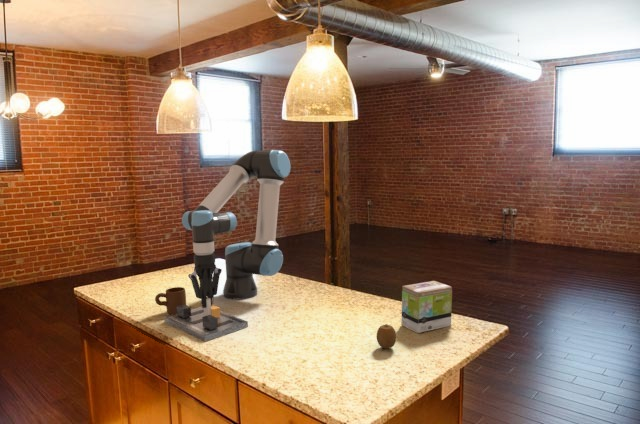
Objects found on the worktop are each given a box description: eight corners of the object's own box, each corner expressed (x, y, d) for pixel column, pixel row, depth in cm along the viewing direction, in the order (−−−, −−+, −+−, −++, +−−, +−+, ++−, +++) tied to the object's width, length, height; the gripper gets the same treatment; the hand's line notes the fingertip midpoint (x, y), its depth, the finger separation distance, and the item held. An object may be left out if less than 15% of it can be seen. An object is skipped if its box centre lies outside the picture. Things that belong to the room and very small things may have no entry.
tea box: (418, 334, 160) (419, 292, 159) (400, 325, 169) (400, 285, 167) (452, 326, 167) (452, 285, 165) (433, 317, 176) (433, 279, 174)
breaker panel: (205, 310, 191) (205, 296, 190) (248, 326, 171) (247, 311, 170) (164, 322, 178) (163, 307, 177) (204, 341, 158) (203, 325, 158)
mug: (159, 319, 181) (158, 295, 180) (153, 314, 187) (151, 291, 186) (189, 312, 188) (188, 289, 187) (182, 308, 194) (181, 285, 193)
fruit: (383, 354, 145) (382, 329, 144) (373, 346, 151) (372, 322, 150) (400, 350, 148) (400, 325, 147) (389, 343, 154) (389, 319, 153)
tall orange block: (212, 313, 179) (212, 304, 179) (220, 316, 176) (219, 307, 176) (206, 315, 177) (205, 306, 177) (213, 318, 174) (212, 309, 173)
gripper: (213, 248, 179) (217, 308, 182) (182, 254, 170) (186, 317, 173) (225, 251, 174) (228, 312, 177) (193, 257, 165) (197, 322, 168)
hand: (207, 315), depth 175 cm, fingers closed
